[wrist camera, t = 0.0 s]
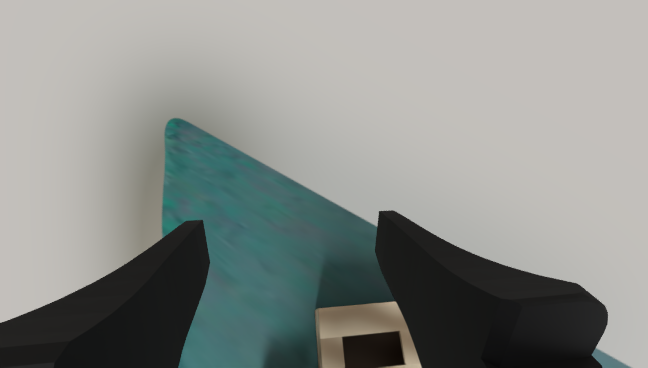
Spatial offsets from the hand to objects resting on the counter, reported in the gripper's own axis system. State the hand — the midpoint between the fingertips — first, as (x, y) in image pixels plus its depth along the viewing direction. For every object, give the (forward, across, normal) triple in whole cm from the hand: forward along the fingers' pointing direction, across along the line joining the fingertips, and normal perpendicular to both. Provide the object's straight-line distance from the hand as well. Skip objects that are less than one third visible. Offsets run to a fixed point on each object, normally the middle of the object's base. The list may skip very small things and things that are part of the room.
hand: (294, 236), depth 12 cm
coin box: (+16, -9, +29) cm, 34 cm away
